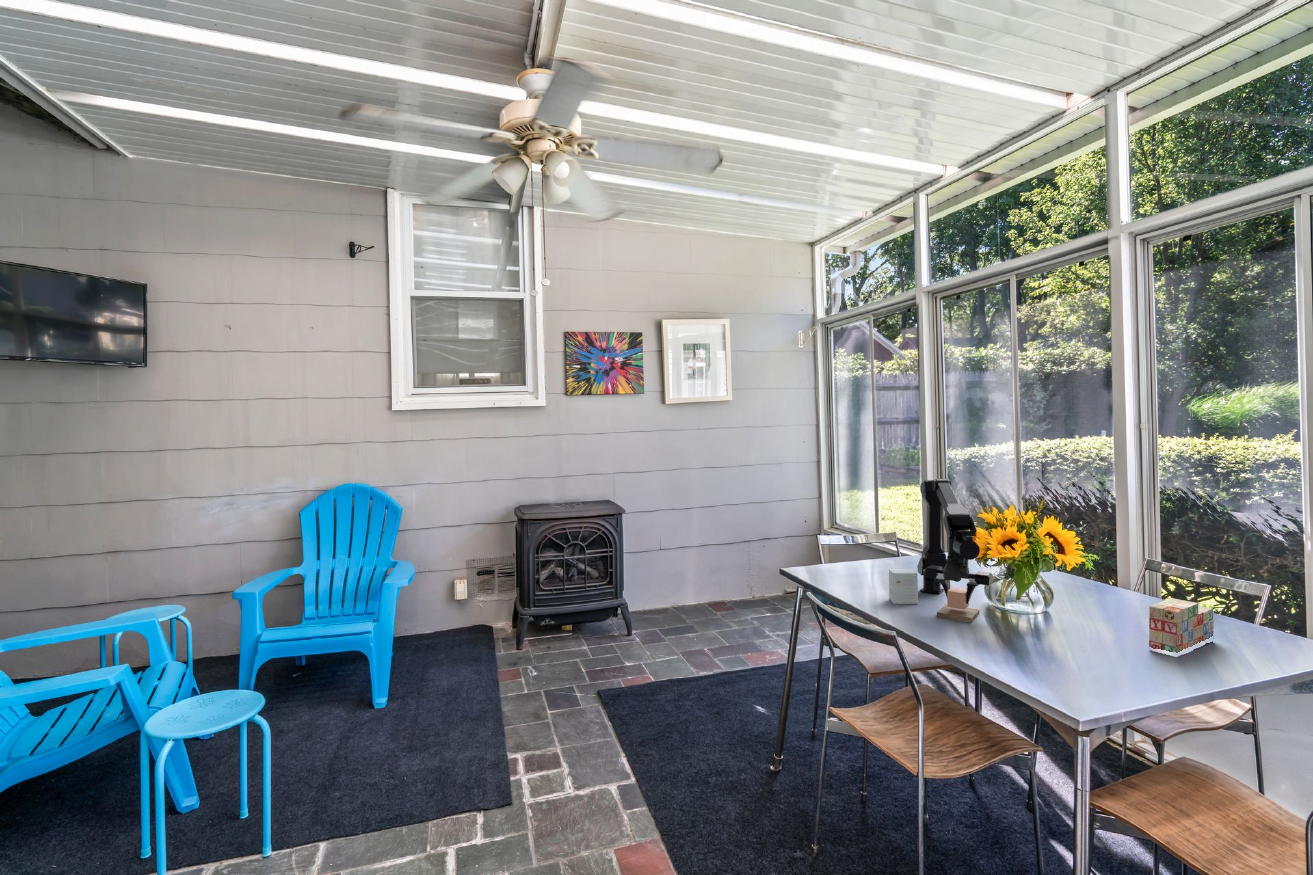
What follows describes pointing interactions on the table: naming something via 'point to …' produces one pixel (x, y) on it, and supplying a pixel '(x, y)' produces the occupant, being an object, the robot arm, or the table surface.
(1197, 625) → the stack of blocks
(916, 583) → the small box
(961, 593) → the terracotta cube
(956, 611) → the walnut base
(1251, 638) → the table surface
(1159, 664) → the table surface
